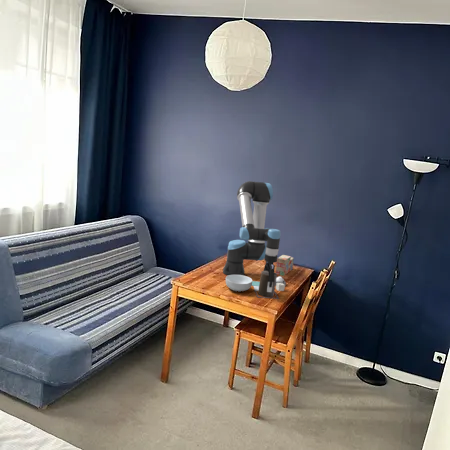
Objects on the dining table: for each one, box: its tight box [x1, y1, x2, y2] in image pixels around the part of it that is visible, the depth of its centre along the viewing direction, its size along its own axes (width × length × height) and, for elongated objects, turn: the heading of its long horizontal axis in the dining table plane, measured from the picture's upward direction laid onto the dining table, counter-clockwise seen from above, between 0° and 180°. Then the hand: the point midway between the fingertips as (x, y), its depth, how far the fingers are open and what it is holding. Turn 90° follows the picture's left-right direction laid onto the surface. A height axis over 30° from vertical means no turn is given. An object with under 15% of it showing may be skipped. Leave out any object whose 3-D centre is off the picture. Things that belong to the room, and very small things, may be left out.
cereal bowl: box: [225, 275, 253, 293], centre depth 258 cm, size 17×17×7 cm
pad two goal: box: [251, 280, 260, 287], centre depth 273 cm, size 9×8×1 cm
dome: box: [276, 275, 285, 282], centre depth 277 cm, size 5×5×5 cm
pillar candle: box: [257, 270, 278, 298], centre depth 254 cm, size 10×10×15 cm
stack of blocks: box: [275, 254, 295, 277], centre depth 307 cm, size 21×6×12 cm, turn 153°
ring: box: [253, 288, 280, 300], centre depth 256 cm, size 13×13×1 cm
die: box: [275, 283, 286, 292], centre depth 266 cm, size 4×4×4 cm
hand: (267, 288), depth 255 cm, fingers open, 13 cm apart
